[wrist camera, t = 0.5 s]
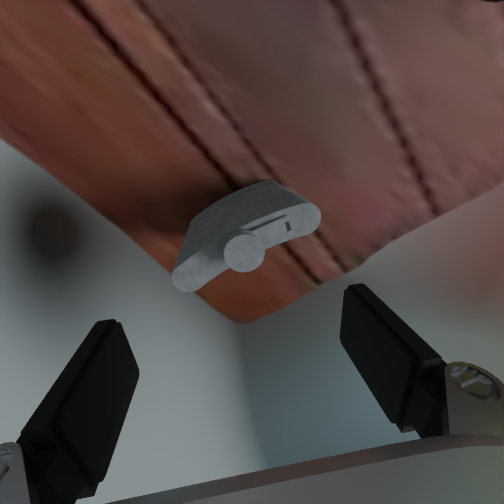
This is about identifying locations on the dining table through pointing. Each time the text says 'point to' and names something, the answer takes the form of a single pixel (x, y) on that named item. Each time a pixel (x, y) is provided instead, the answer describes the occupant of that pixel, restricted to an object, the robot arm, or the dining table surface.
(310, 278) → the dining table surface
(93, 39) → the dining table surface
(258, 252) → the hip flask
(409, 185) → the dining table surface
